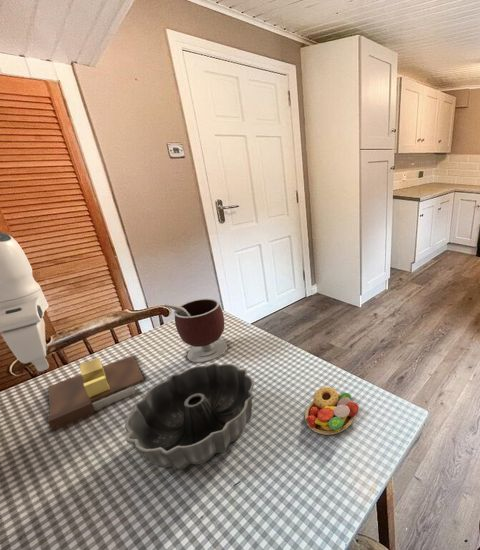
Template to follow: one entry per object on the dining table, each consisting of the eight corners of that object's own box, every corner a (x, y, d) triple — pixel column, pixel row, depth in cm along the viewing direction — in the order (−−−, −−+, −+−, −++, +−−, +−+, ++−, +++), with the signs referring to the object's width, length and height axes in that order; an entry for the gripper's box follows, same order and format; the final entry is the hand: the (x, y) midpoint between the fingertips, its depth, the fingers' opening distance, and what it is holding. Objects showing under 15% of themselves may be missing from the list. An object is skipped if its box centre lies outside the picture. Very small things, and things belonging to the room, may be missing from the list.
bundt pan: (205, 503, 59) (194, 467, 55) (107, 465, 66) (91, 432, 62) (279, 403, 82) (275, 373, 78) (201, 383, 89) (194, 355, 86)
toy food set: (321, 391, 86) (321, 382, 85) (364, 403, 82) (364, 394, 80) (295, 428, 75) (294, 418, 73) (344, 445, 70) (343, 435, 69)
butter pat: (89, 397, 83) (83, 386, 81) (88, 394, 84) (83, 383, 82) (109, 389, 86) (105, 378, 84) (108, 386, 87) (104, 375, 85)
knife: (53, 432, 74) (47, 421, 73) (53, 427, 75) (47, 417, 74) (136, 395, 85) (133, 385, 84) (135, 391, 86) (131, 381, 85)
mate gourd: (229, 336, 112) (219, 287, 105) (230, 357, 100) (218, 304, 93) (182, 346, 106) (167, 295, 99) (176, 370, 95) (160, 314, 87)
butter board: (51, 421, 77) (43, 406, 75) (49, 389, 87) (42, 375, 86) (144, 381, 90) (139, 367, 88) (133, 358, 101) (128, 345, 99)
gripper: (-1, 296, 69) (25, 346, 75) (-10, 329, 56) (22, 388, 61) (37, 288, 74) (59, 336, 79) (38, 317, 60) (64, 373, 65)
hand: (43, 359), depth 70 cm, fingers open, 8 cm apart
